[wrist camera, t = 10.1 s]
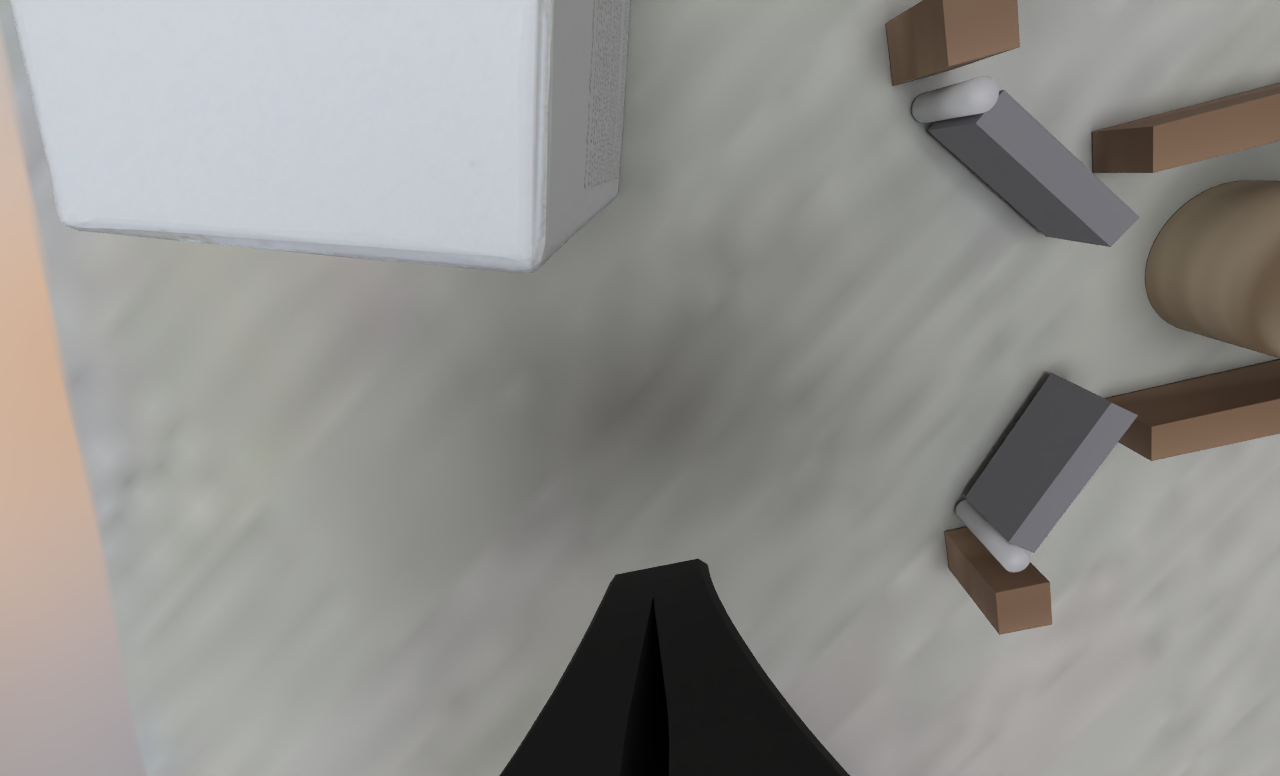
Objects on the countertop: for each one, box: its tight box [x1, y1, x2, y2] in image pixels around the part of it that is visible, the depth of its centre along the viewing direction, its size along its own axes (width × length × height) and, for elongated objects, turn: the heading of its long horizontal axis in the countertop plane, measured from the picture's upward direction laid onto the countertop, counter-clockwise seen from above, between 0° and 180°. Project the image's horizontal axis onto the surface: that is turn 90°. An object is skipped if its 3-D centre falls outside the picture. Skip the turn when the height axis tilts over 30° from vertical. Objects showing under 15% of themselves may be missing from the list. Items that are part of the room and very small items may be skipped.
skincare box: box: [10, 0, 630, 273], centre depth 10 cm, size 6×4×12 cm
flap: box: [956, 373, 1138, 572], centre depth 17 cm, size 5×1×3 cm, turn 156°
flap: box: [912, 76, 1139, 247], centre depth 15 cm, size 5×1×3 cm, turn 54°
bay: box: [1092, 83, 1280, 461], centre depth 16 cm, size 8×7×2 cm
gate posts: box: [886, 0, 1052, 635], centre depth 16 cm, size 16×1×3 cm, turn 15°
